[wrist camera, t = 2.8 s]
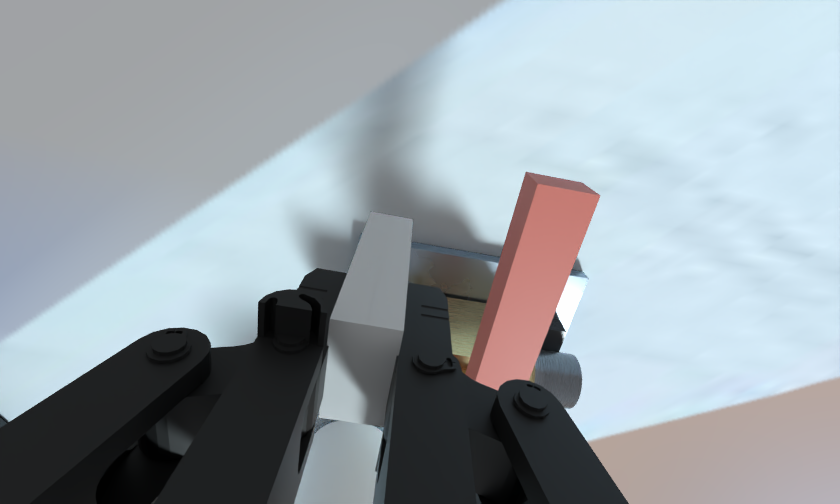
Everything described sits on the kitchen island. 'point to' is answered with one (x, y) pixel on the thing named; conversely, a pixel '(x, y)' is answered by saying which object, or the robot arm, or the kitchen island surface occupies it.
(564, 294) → the valve fixture
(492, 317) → the lever
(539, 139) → the kitchen island surface
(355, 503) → the beverage can
